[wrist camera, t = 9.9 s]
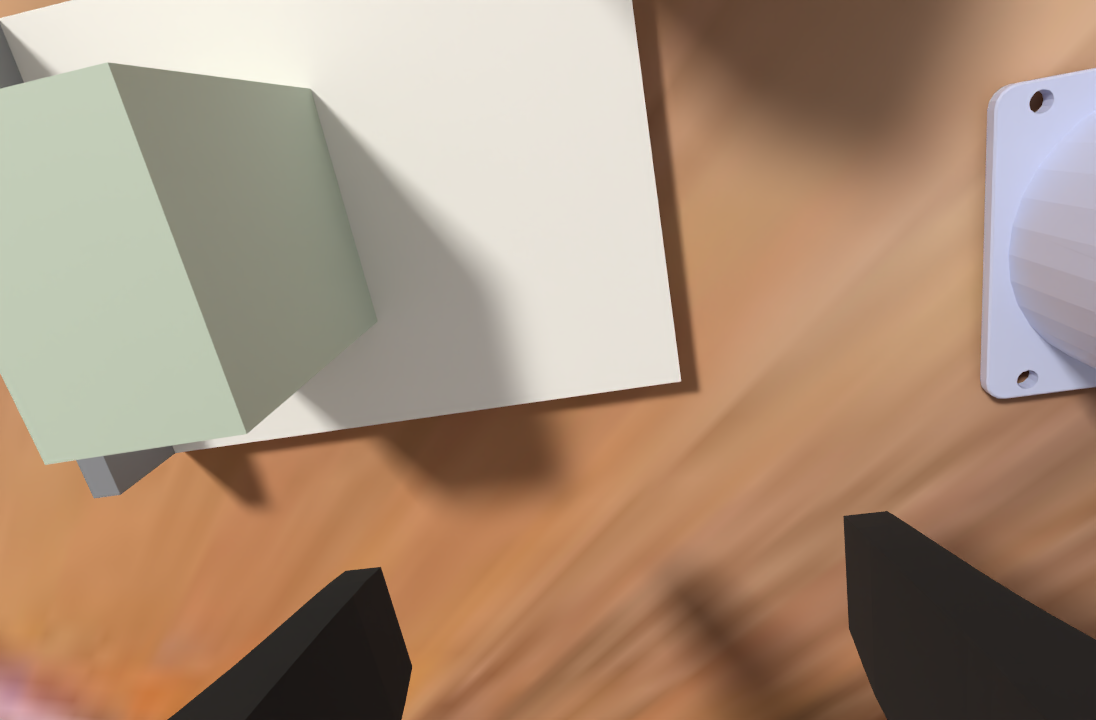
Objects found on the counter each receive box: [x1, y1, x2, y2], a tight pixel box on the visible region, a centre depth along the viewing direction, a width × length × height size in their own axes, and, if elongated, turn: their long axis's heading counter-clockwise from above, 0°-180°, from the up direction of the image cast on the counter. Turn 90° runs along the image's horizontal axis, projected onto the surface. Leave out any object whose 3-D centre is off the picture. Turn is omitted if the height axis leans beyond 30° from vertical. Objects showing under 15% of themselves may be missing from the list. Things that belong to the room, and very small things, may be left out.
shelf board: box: [0, 0, 681, 498], centre depth 16 cm, size 16×12×3 cm
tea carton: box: [0, 62, 378, 465], centre depth 14 cm, size 4×6×7 cm
